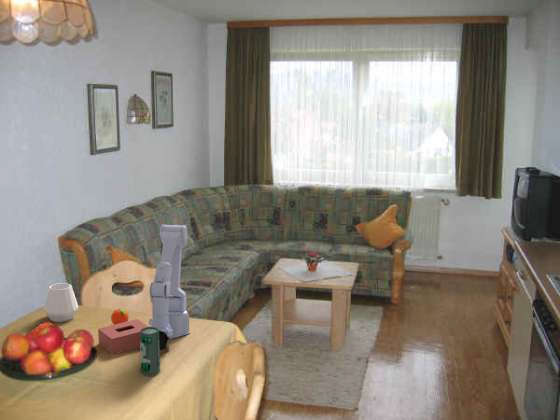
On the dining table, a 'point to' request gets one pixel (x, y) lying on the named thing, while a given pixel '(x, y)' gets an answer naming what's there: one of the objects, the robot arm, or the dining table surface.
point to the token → (164, 349)
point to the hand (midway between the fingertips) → (161, 348)
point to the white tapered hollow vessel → (60, 302)
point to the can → (150, 351)
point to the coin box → (121, 336)
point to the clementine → (119, 316)
